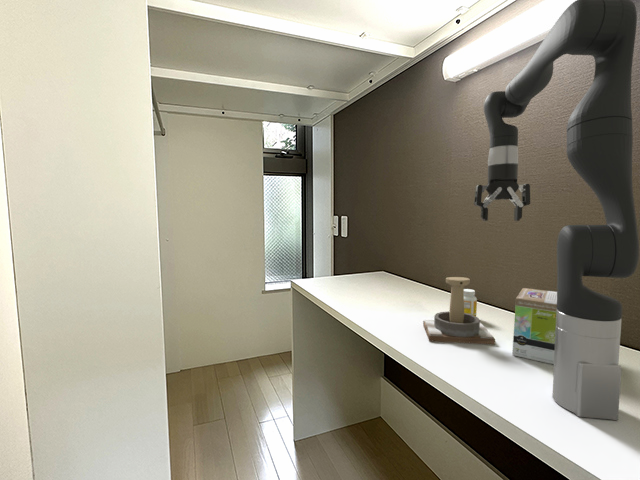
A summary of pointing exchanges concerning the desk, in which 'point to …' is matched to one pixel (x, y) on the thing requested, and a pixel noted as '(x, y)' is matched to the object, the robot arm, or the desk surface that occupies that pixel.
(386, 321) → the desk surface
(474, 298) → the supplement bottle
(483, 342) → the ring socket base
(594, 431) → the desk surface
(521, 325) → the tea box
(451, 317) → the handle
